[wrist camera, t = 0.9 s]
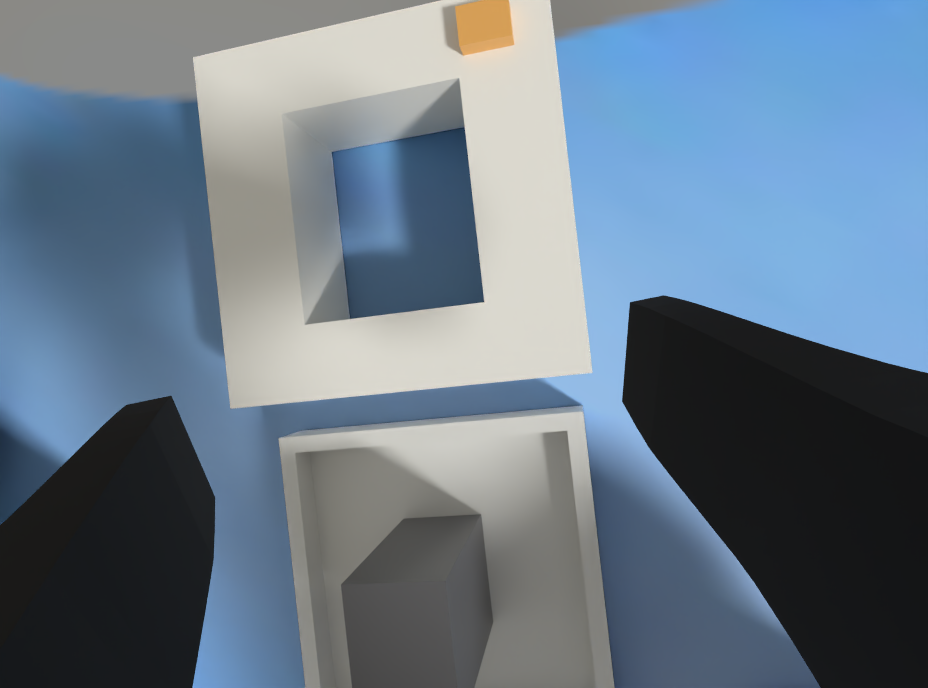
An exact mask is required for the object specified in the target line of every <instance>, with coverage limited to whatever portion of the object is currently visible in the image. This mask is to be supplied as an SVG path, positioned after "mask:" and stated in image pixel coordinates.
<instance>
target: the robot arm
mask: <svg viewBox="0 0 928 688" xmlns="http://www.w3.org/2000/svg"><path fill="white" fill-rule="evenodd" d="M622 402H623V404H624V405H625V407H626V409H627V411H628V413H629V414H630V416H631V418H632V420H633V422H634V423H635V425H636V427H637V429H638V430H639V432H640V433H641V435H642V437H643V438H644V440H645V442H646V443H647V445H648V447H649V448H650V450H651V451H652V452H653V454H654V455H655V456H656V458H657V459H658V460H659V461H660V463H661V464H662V465H663V467H664V468H665V469H666V470H667V472H668V473H669V474H670V475H671V477H672V478H673V479H674V481H675V482H676V483H677V484H678V486H679V487H680V488H681V489H682V491H683V492H684V493H685V494H686V496H687V497H688V498H689V499H690V501H691V502H692V503H693V504H694V506H695V507H696V508H697V509H698V511H699V512H700V513H701V514H702V516H703V517H704V518H705V519H706V521H707V522H708V523H709V524H710V526H711V527H712V528H713V529H714V531H715V532H716V533H717V534H718V536H719V537H720V538H721V539H722V541H723V542H724V543H725V544H726V546H727V547H728V548H729V549H730V550H731V552H732V553H733V554H734V555H735V557H736V558H737V560H738V561H739V562H740V564H741V565H742V566H743V568H744V569H745V570H746V572H747V573H748V574H749V576H750V577H751V579H752V580H753V581H754V583H755V584H756V586H757V587H758V589H759V590H760V592H761V594H762V595H763V597H764V598H765V600H766V601H767V603H768V604H769V606H770V607H771V609H772V610H773V612H774V614H775V615H776V617H777V618H778V620H779V621H780V623H781V624H782V626H783V627H784V629H785V630H786V632H787V634H788V635H789V637H790V638H791V640H792V641H793V643H794V645H795V646H796V648H797V649H798V651H799V653H800V654H801V656H802V658H803V659H804V661H805V663H806V664H807V666H808V667H809V669H810V671H811V672H812V674H813V676H814V677H815V679H816V681H817V682H818V684H819V685H820V687H821V688H928V373H925V372H920V371H916V370H912V369H908V368H904V367H900V366H896V365H892V364H888V363H884V362H881V361H877V360H874V359H870V358H867V357H863V356H860V355H856V354H853V353H849V352H846V351H842V350H839V349H835V348H832V347H828V346H825V345H822V344H819V343H816V342H812V341H809V340H806V339H803V338H800V337H796V336H793V335H790V334H787V333H784V332H781V331H778V330H775V329H772V328H769V327H766V326H763V325H760V324H757V323H754V322H751V321H748V320H745V319H742V318H739V317H736V316H733V315H730V314H727V313H724V312H721V311H718V310H715V309H712V308H708V307H705V306H702V305H699V304H696V303H692V302H689V301H685V300H681V299H677V298H673V297H668V296H659V297H654V298H649V299H644V300H639V301H634V302H630V309H629V322H628V335H627V348H626V360H625V373H624V386H623V398H622ZM214 533H215V496H214V494H213V491H212V489H211V487H210V485H209V482H208V480H207V478H206V475H205V473H204V471H203V468H202V466H201V464H200V461H199V459H198V457H197V454H196V452H195V450H194V447H193V445H192V443H191V440H190V438H189V436H188V433H187V431H186V429H185V426H184V424H183V422H182V420H181V417H180V415H179V413H178V410H177V408H176V406H175V403H174V401H173V399H172V396H168V397H163V398H158V399H153V400H148V401H143V402H139V403H134V404H129V405H126V406H125V407H123V408H122V409H121V410H120V411H119V412H117V413H116V414H115V415H114V416H113V417H112V418H111V419H110V420H109V421H107V422H106V423H105V424H104V425H103V426H102V427H101V428H100V429H99V430H98V431H97V432H96V433H95V434H94V435H93V436H92V437H91V438H90V439H89V440H88V441H87V442H86V443H85V444H84V445H83V446H82V447H81V448H80V449H79V450H78V451H77V452H76V453H75V454H74V455H73V456H72V457H71V458H70V459H69V460H68V461H67V462H66V463H65V464H64V465H63V466H61V467H60V468H59V469H58V470H57V471H56V472H55V473H54V474H53V475H52V476H51V477H50V478H49V479H48V480H47V481H46V482H45V483H44V484H43V485H42V486H41V487H40V488H39V489H38V490H37V491H36V492H35V493H34V494H33V495H32V496H31V497H30V498H29V499H28V500H27V501H26V502H25V503H24V504H23V505H22V506H21V507H20V508H18V509H17V510H16V511H15V512H14V513H13V514H12V515H11V516H10V517H9V518H8V519H7V520H6V521H4V522H3V523H2V524H1V525H0V688H192V686H193V680H194V674H195V669H196V663H197V657H198V651H199V645H200V639H201V633H202V627H203V622H204V616H205V610H206V603H207V597H208V591H209V585H210V579H211V572H212V566H213V558H214Z"/></svg>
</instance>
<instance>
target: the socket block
mask: <svg viewBox="0 0 928 688" xmlns="http://www.w3.org/2000/svg"><path fill="white" fill-rule="evenodd" d="M193 62H194V72H195V82H196V92H197V101H198V110H199V120H200V129H201V138H202V148H203V157H204V166H205V176H206V185H207V194H208V204H209V213H210V222H211V232H212V241H213V250H214V260H215V269H216V279H217V288H218V297H219V307H220V316H221V325H222V335H223V344H224V353H225V363H226V372H227V381H228V391H229V400H230V409H234V408H244V407H254V406H264V405H274V404H284V403H294V402H304V401H314V400H324V399H334V398H344V397H354V396H364V395H374V394H384V393H394V392H404V391H414V390H424V389H434V388H444V387H454V386H464V385H474V384H485V383H495V382H505V381H515V380H525V379H535V378H545V377H555V376H565V375H575V374H585V373H592V365H591V356H590V347H589V338H588V330H587V321H586V312H585V303H584V294H583V286H582V277H581V268H580V259H579V250H578V242H577V233H576V224H575V215H574V207H573V198H572V189H571V180H570V171H569V163H568V154H567V145H566V136H565V127H564V119H563V110H562V101H561V92H560V83H559V75H558V66H557V57H556V48H555V40H554V31H553V23H552V13H551V4H550V0H440V1H435V2H431V3H427V4H422V5H418V6H414V7H409V8H405V9H401V10H396V11H392V12H388V13H383V14H379V15H374V16H370V17H366V18H361V19H357V20H353V21H348V22H344V23H340V24H335V25H331V26H327V27H322V28H318V29H314V30H309V31H305V32H300V33H296V34H292V35H287V36H283V37H279V38H274V39H270V40H266V41H261V42H257V43H252V44H248V45H244V46H240V47H235V48H231V49H227V50H222V51H218V52H213V53H209V54H204V55H200V56H196V57H193ZM463 127H465V134H466V143H467V152H468V161H469V170H470V178H471V187H472V196H473V205H474V214H475V223H476V232H477V241H478V250H479V259H480V268H481V277H482V286H483V295H484V302H481V303H473V304H465V305H457V306H449V307H441V308H433V309H426V310H418V311H410V312H402V313H394V314H386V315H378V316H370V317H362V318H354V319H350V314H349V305H348V296H347V287H346V277H345V268H344V259H343V250H342V241H341V232H340V223H339V213H338V204H337V195H336V186H335V177H334V168H333V159H332V152H334V151H339V150H344V149H350V148H355V147H361V146H366V145H371V144H377V143H382V142H388V141H393V140H398V139H404V138H409V137H414V136H420V135H425V134H431V133H436V132H441V131H447V130H452V129H458V128H463Z"/></svg>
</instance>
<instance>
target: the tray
mask: <svg viewBox="0 0 928 688" xmlns="http://www.w3.org/2000/svg"><path fill="white" fill-rule="evenodd" d="M279 447H280V457H281V466H282V475H283V485H284V494H285V503H286V512H287V522H288V531H289V540H290V549H291V559H292V568H293V577H294V587H295V596H296V605H297V614H298V624H299V633H300V642H301V651H302V661H303V670H304V679H305V688H352V683H351V674H350V665H349V655H348V646H347V637H346V628H345V618H344V609H343V600H342V591H341V584H342V583H343V582H344V581H345V580H346V579H347V578H348V577H349V575H350V574H351V573H352V572H353V571H354V570H355V569H356V568H357V567H358V566H359V565H360V564H361V563H362V562H363V561H364V560H365V559H366V558H367V557H368V555H369V554H370V553H371V552H372V551H373V550H374V549H375V548H376V547H377V546H378V545H379V544H380V543H381V542H382V541H383V540H384V539H385V538H386V537H387V535H388V534H389V533H390V532H391V531H392V530H393V529H394V528H395V527H396V526H397V525H398V524H399V523H400V522H401V521H402V520H403V519H405V518H423V517H440V516H458V515H476V514H481V517H482V526H483V535H484V544H485V553H486V562H487V571H488V580H489V589H490V598H491V607H492V616H493V625H492V628H491V632H490V635H489V639H488V642H487V646H486V649H485V653H484V656H483V659H482V663H481V666H480V670H479V673H478V677H477V680H476V684H475V687H474V688H615V687H614V678H613V670H612V661H611V652H610V643H609V634H608V626H607V617H606V608H605V599H604V590H603V581H602V573H601V564H600V555H599V546H598V537H597V529H596V520H595V511H594V502H593V493H592V485H591V476H590V467H589V458H588V449H587V441H586V432H585V423H584V414H583V405H581V406H570V407H558V408H547V409H536V410H525V411H514V412H503V413H491V414H480V415H469V416H458V417H447V418H436V419H424V420H413V421H402V422H391V423H380V424H369V425H358V426H346V427H335V428H324V429H313V430H302V431H298V432H295V433H292V434H289V435H286V436H283V437H280V438H279Z"/></svg>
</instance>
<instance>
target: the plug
mask: <svg viewBox="0 0 928 688" xmlns="http://www.w3.org/2000/svg"><path fill="white" fill-rule="evenodd" d="M341 591H342V600H343V609H344V618H345V628H346V637H347V646H348V655H349V665H350V674H351V683H352V688H474V687H475V684H476V680H477V677H478V673H479V670H480V666H481V663H482V659H483V656H484V653H485V649H486V646H487V642H488V639H489V635H490V632H491V628H492V625H493V616H492V607H491V598H490V589H489V580H488V571H487V562H486V553H485V544H484V535H483V526H482V517H481V514H476V515H458V516H440V517H423V518H405V519H403V520H402V521H401V522H400V523H399V524H398V525H397V526H396V527H395V528H394V529H393V530H392V531H391V532H390V533H389V534H388V535H387V537H386V538H385V539H384V540H383V541H382V542H381V543H380V544H379V545H378V546H377V547H376V548H375V549H374V550H373V551H372V552H371V553H370V554H369V555H368V557H367V558H366V559H365V560H364V561H363V562H362V563H361V564H360V565H359V566H358V567H357V568H356V569H355V570H354V571H353V572H352V573H351V574H350V575H349V577H348V578H347V579H346V580H345V581H344V582H343V583H342V584H341Z"/></svg>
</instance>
